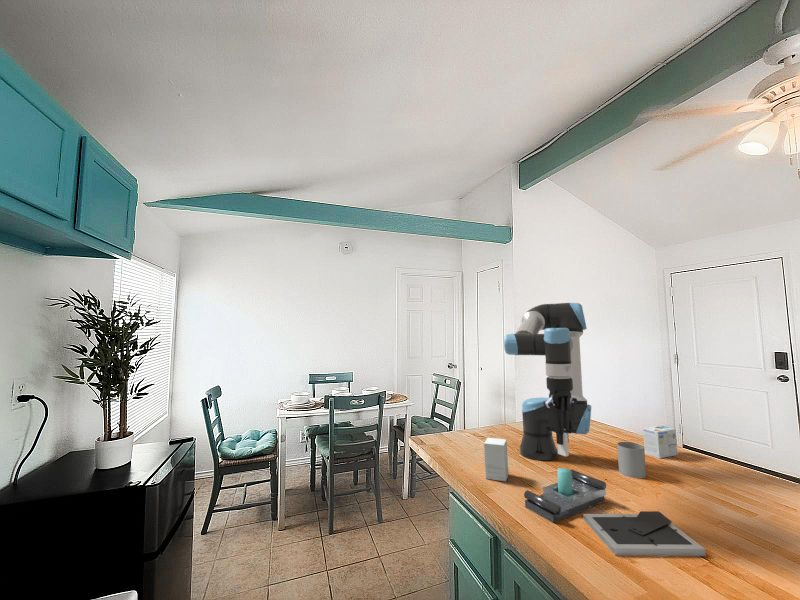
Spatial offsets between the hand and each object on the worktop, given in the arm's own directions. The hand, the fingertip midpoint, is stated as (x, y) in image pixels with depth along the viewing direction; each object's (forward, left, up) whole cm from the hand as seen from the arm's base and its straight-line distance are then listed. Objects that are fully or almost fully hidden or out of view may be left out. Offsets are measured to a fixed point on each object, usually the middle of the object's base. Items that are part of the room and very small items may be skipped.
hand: (563, 454), depth 109 cm
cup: (-3, +41, -15) cm, 43 cm away
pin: (0, 0, -15) cm, 15 cm away
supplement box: (-26, -3, -15) cm, 30 cm away
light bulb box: (-8, +71, -15) cm, 73 cm away
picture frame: (+20, +2, -16) cm, 25 cm away
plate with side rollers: (0, 0, -15) cm, 15 cm away
